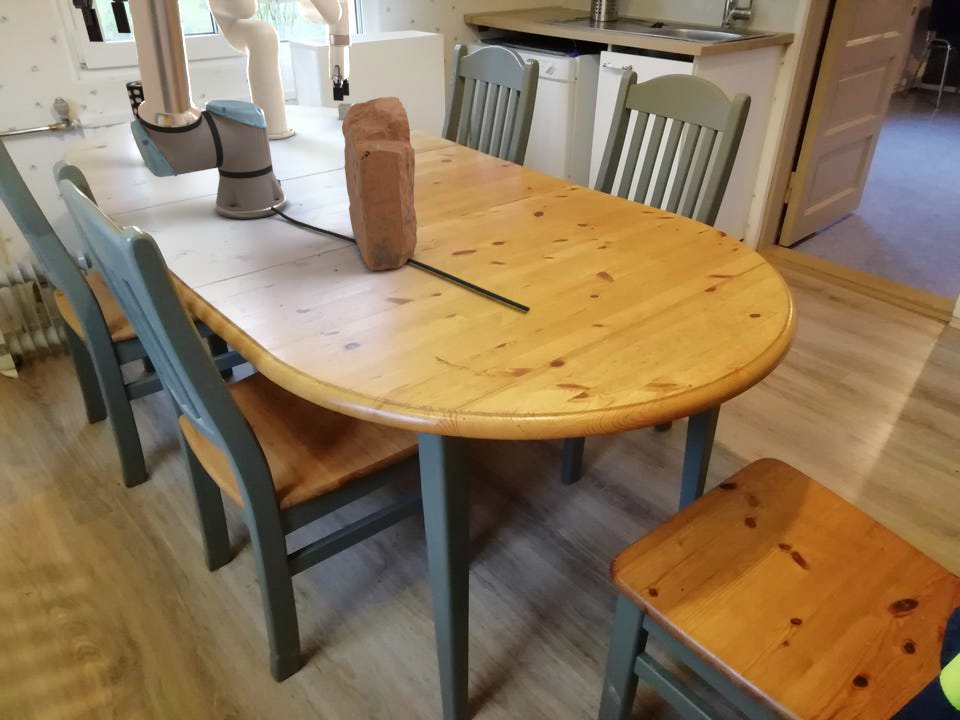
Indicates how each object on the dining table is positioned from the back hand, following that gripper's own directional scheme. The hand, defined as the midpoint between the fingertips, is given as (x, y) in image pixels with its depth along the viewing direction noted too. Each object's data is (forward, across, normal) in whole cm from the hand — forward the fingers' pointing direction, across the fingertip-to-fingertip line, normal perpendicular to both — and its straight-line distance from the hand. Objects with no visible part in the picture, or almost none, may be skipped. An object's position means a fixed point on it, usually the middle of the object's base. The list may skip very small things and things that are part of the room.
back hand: (341, 97), depth 225 cm
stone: (+10, +105, +29) cm, 110 cm away
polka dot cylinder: (0, +51, -40) cm, 64 cm away
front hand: (-22, +65, -39) cm, 79 cm away
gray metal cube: (+7, -1, +1) cm, 7 cm away
